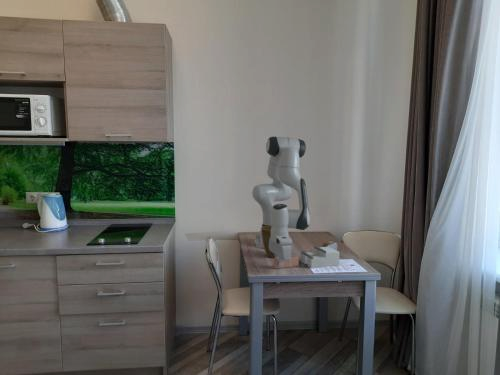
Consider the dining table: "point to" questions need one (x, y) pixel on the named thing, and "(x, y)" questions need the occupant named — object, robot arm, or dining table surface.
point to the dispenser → (321, 257)
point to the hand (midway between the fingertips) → (278, 264)
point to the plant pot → (267, 240)
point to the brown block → (287, 263)
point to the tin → (331, 244)
